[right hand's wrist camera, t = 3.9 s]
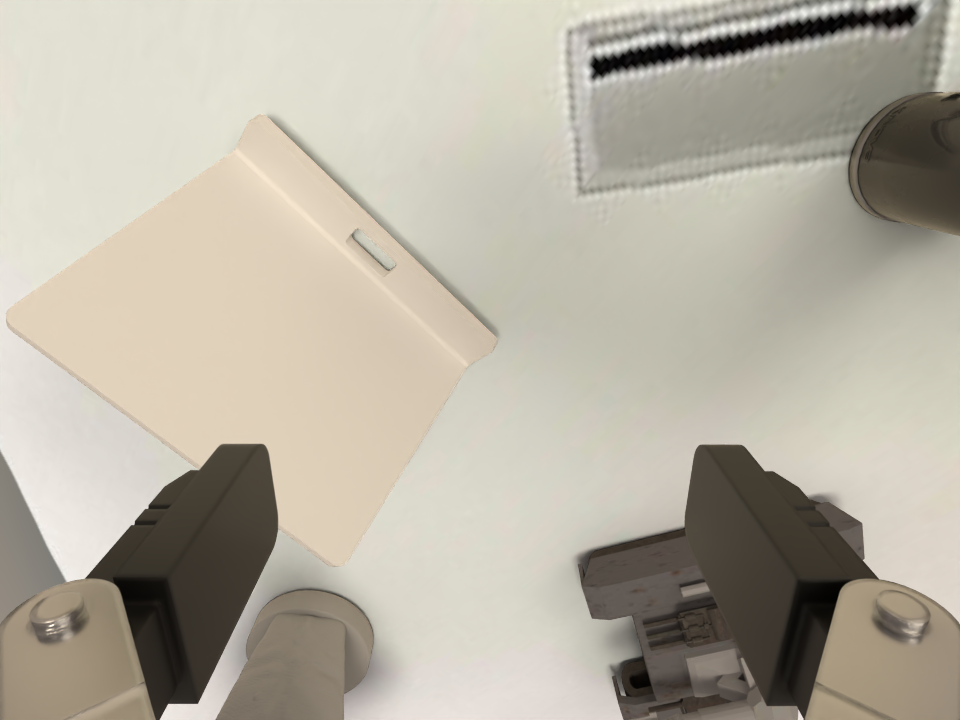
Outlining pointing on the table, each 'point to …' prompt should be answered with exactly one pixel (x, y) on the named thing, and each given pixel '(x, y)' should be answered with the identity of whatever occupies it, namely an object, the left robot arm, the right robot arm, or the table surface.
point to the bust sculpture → (301, 659)
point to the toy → (681, 630)
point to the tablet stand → (265, 334)
